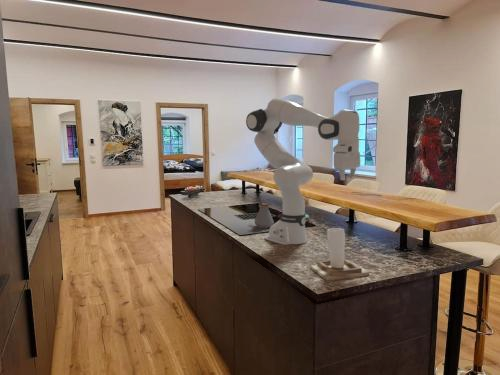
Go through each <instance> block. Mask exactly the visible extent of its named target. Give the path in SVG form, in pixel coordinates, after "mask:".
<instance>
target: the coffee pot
mask: <svg viewBox="0 0 500 375" xmlns="http://www.w3.org/2000/svg"><path fill="white" fill-rule="evenodd" d="M257 200H258V202H259V204H258V207H259V210H258V212H257V215H256V217H255V220H254V225H256V226H257V228H259V229H270V227H271V226H272V225H273V224H275V221H274V219H273V216H272V214H271V212H270V210H269V208H270V207H271V205H270V204H265V203H264V204H263V203H262V198H261V197H258V198H257Z"/></svg>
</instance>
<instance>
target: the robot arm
mask: <svg viewBox="0 0 500 375" xmlns="http://www.w3.org/2000/svg"><path fill="white" fill-rule="evenodd" d="M283 124H284V125H286V126H287V125H288V126H291V127H292V126H293V127H299V126H300V127H303V126H304V127H313V128H317V133H318V135H319V137H320V138H321V139H322V140H323V139H324V140H328V141H330V140H331V141H336V140H337V144H336V145H335V146H334V147H333V146H332V147H333V148H332V152H333V153H334V154H333V168H334V170H335V171H338V173H339V178H340V179H339V180H340V181H345V180H346V177H347V176H346V174H345V173H346V170H349V171H350V172H349V176H348V178H349V179H354V178H355V174H356V171H357V168H360V166H361V153H360V151H359V150H360V149H359V148H360V139H359V138H360V137H359V132H360V115H359V113H358V112H357V111H356V110H352V109H346V108H345V109H341V110H339V111H338V112H337V113H336V114H334V115H331V116H329V117H328V116H326V115H323V114H320V113H317V112H314V111H312V110H310V109H307V108H306V107H304V106H302V105H300V104H298V103H296V102H294V101H292V100H291V101H290V100H288V99H283V98H273V99H271V100H270V101H269V102H268V103H267V106H266V108H265V109H262V108H260V109H257V110H253V111H251V112H249V113H248V114H247V116H246V119H245V125H246V127H247V129H248V130H249V131H251V132H254V133H256V135H254V136H255V137H254V141H253V142H254V144H255V146H256V147H257V149H258V151H259V153H260V154H261V155H262V156H263V158H265V160H266V161H267V162H268V163H269V165H270V167H273V168H274V169H276V170H275V171H274V173H273V181H274V184H275V185H276V186H277V187H278V189H279V191H280V194H281V197H282V200H281V201H282V213H280V214H278V216H277V217H278V218H279V220H278V221H276V222H274V223H273V225H272V226H271V227H270V228H269V230H268V234H266V235H264V240H267V241H269V242H270V241H271V242H273V243H276V244H279V245H283V246H287V245H303V244H306V243H307V242H308V237H307V233H306V232H307V231H306V222H305V214H306V212H305V211H306V210H305V202H306V201H305V200H306V199H305V196H304V195H303V194H302V192H301V189H300V186H303V185H306V184H308V183H309V182H311V181H312V179H313V176H314V172H313V171H314V170H313V169H312V168H311V166H310V165H308V164H305V163H303V162H302V161H301V160H299V159H298V158H297V157H295V156H294V155H292V153H290V152H289V151H288V150H287V149H286V148H285V147H284V145H283V144H282V143H281V142H280V140H279V139H277V137H275V135H276V134H277V133H278V132H279V130H280V129H281V127H282V125H283Z"/></svg>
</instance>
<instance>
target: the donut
mask: <svg viewBox="0 0 500 375" xmlns="http://www.w3.org/2000/svg"><path fill="white" fill-rule="evenodd" d="M309 220H310V216H309V214H306V213H305V223H307V222H309Z"/></svg>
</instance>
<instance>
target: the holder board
mask: <svg viewBox="0 0 500 375" xmlns="http://www.w3.org/2000/svg"><path fill="white" fill-rule="evenodd" d="M309 268H310V270H312V271H314V272H315V273H316V274H317V275H318V276H320V277H321V278H322V279H324V280H325V281H326V282H329V281H336V280H345V279H350V278H359V277H365V276H370V271H368V270H366V269H365V268H363V267H361V266H360V265H358V264H356V263H355V262H353V261H351V260H350V259H349V260H348V259H347V258H345V257H344V267H343V268H333V267H331V264H330V259H328V260H327V259H325V260H321V261H317V264H310V267H309Z"/></svg>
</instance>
